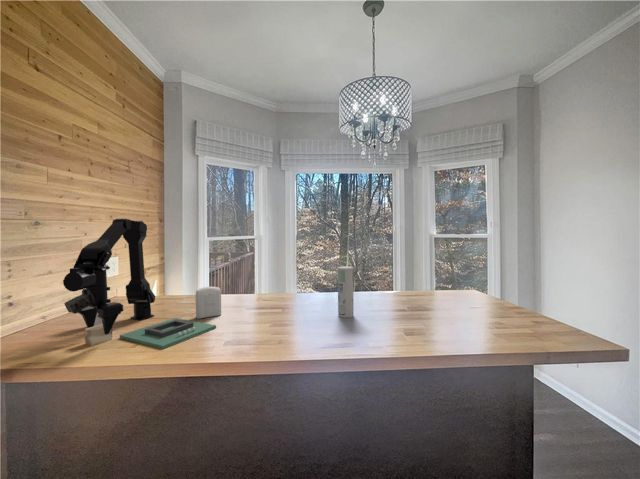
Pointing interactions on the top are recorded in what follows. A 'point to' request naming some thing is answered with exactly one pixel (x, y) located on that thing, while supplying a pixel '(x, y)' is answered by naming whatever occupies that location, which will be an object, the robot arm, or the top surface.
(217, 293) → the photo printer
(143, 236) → the robot arm
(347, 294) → the spray can
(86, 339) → the plug
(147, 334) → the socket board
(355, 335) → the top surface
